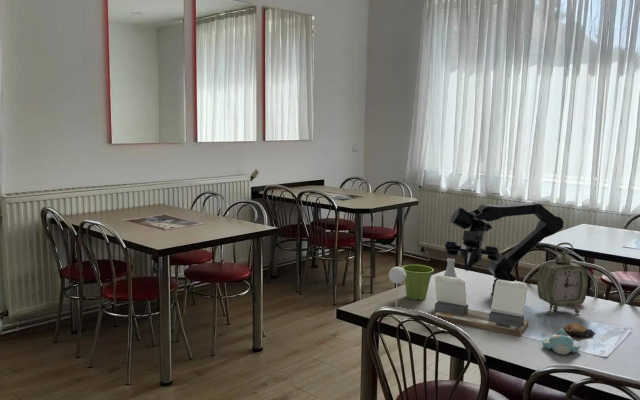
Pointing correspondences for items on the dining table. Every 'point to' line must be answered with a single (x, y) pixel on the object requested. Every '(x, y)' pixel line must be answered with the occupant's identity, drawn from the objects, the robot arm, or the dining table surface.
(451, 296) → the toggle
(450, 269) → the flask
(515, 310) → the toggle
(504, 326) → the switch board
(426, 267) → the plant pot
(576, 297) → the tabletop clock
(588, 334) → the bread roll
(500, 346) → the dining table surface
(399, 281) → the lollipop
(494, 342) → the dining table surface
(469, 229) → the robot arm
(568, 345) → the stuffed animal
